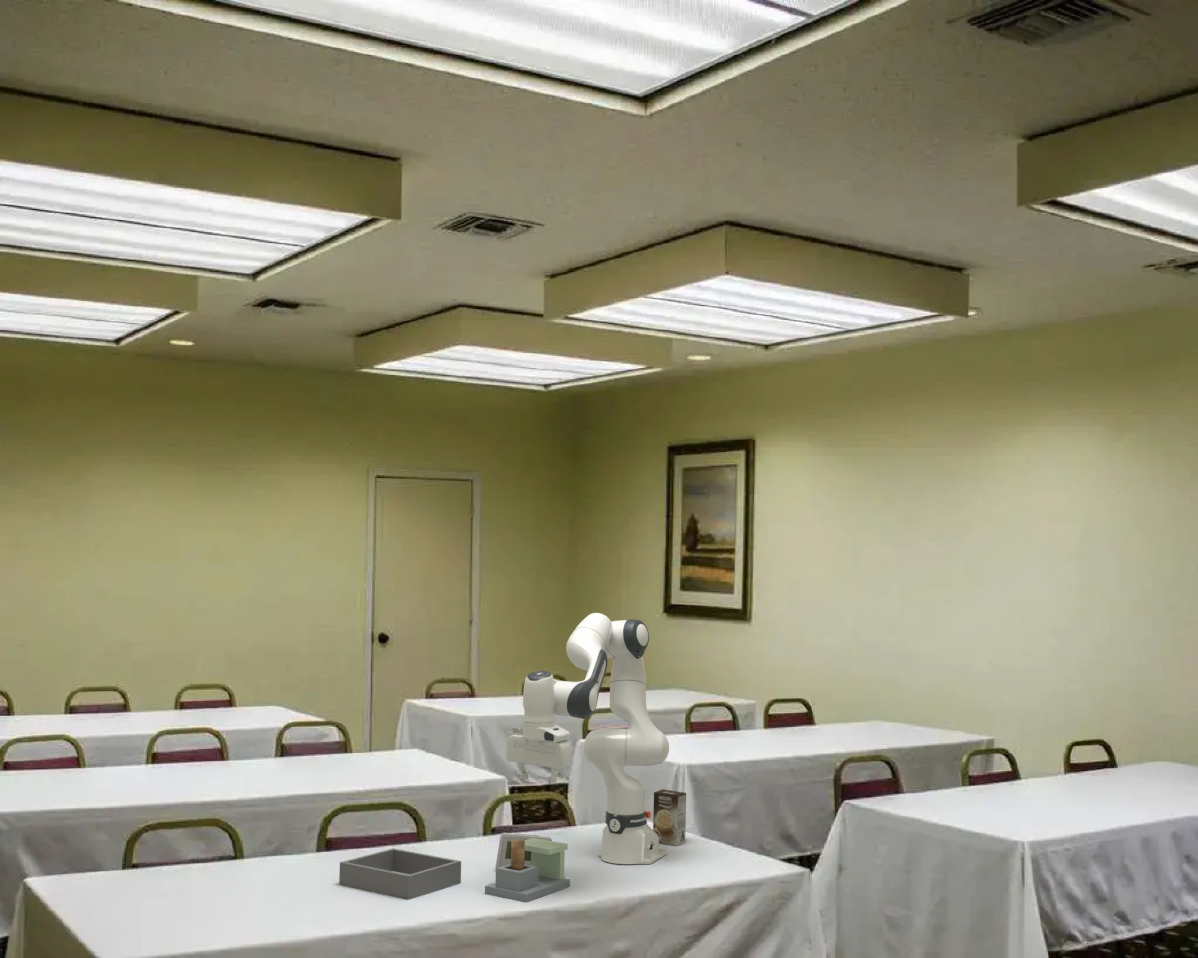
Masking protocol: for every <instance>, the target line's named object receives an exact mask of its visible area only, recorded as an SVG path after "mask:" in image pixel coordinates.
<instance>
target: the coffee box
mask: <svg viewBox="0 0 1198 958" xmlns="http://www.w3.org/2000/svg"><path fill="white" fill-rule="evenodd" d="M652 817H653V818H652V819H653V821H652V830H653V831H654V832H655V833H656V834H657V835H658V838H659V845H660V844H662V845H667V846H673V847H678V846H680V845H683V844H685V843H686V828H687V827H686V826H687V825H686V824H687V823H686V820H687V792H683V791H678V790H677V791H676V790H672V789H663V788H662V789H660V790H656V791H654V792H653V815H652Z"/></svg>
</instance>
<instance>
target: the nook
mask: <svg viewBox="0 0 1198 958" xmlns="http://www.w3.org/2000/svg"><path fill="white" fill-rule="evenodd" d="M524 841H525V851H530V852H531V865H525V864H524V869H523V870H520V871H517V870H512V869H511V864H508V865H505V866H501V867H498V868H496V867H495V882H492V883H491V884H487V885H484V894H485V895H490V896H495V897H500V898H505V899H509V900H513V901H518V902H523V903H524V902H525V903H528V902H531V901H534V900H537V899H540V898H543V897H544V896H548V895H550V894H553V893H556V892H559V891H561V890H564V889H568V888H570V887H571V879H570V878H565V855H566V854H565V851H567V850H568V845H569V844H568V843H565V842H560V841H559V842H558V841H548V840H542V839H536V838H531V839H528V840H524Z"/></svg>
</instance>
